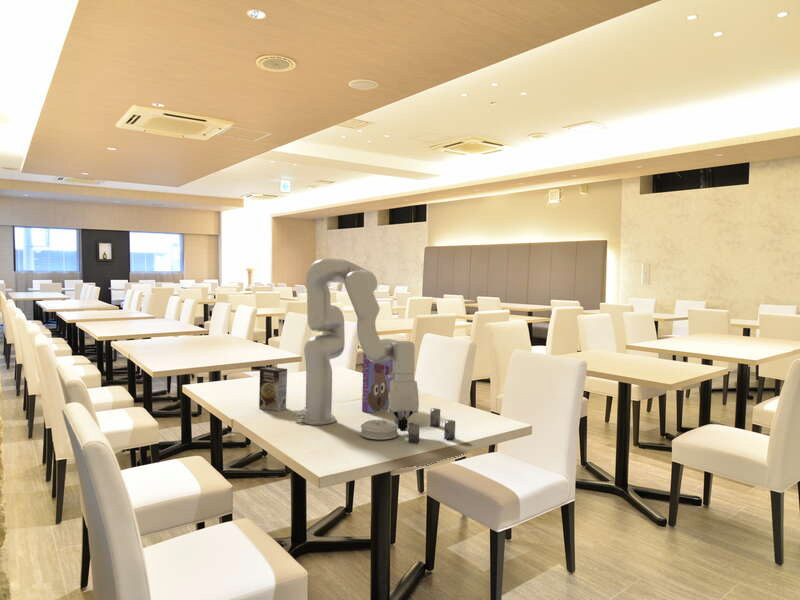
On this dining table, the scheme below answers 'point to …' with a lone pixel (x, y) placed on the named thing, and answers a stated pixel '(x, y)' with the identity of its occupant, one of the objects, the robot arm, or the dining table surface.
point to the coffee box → (273, 388)
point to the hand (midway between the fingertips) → (402, 430)
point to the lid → (379, 429)
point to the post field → (434, 422)
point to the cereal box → (375, 384)
